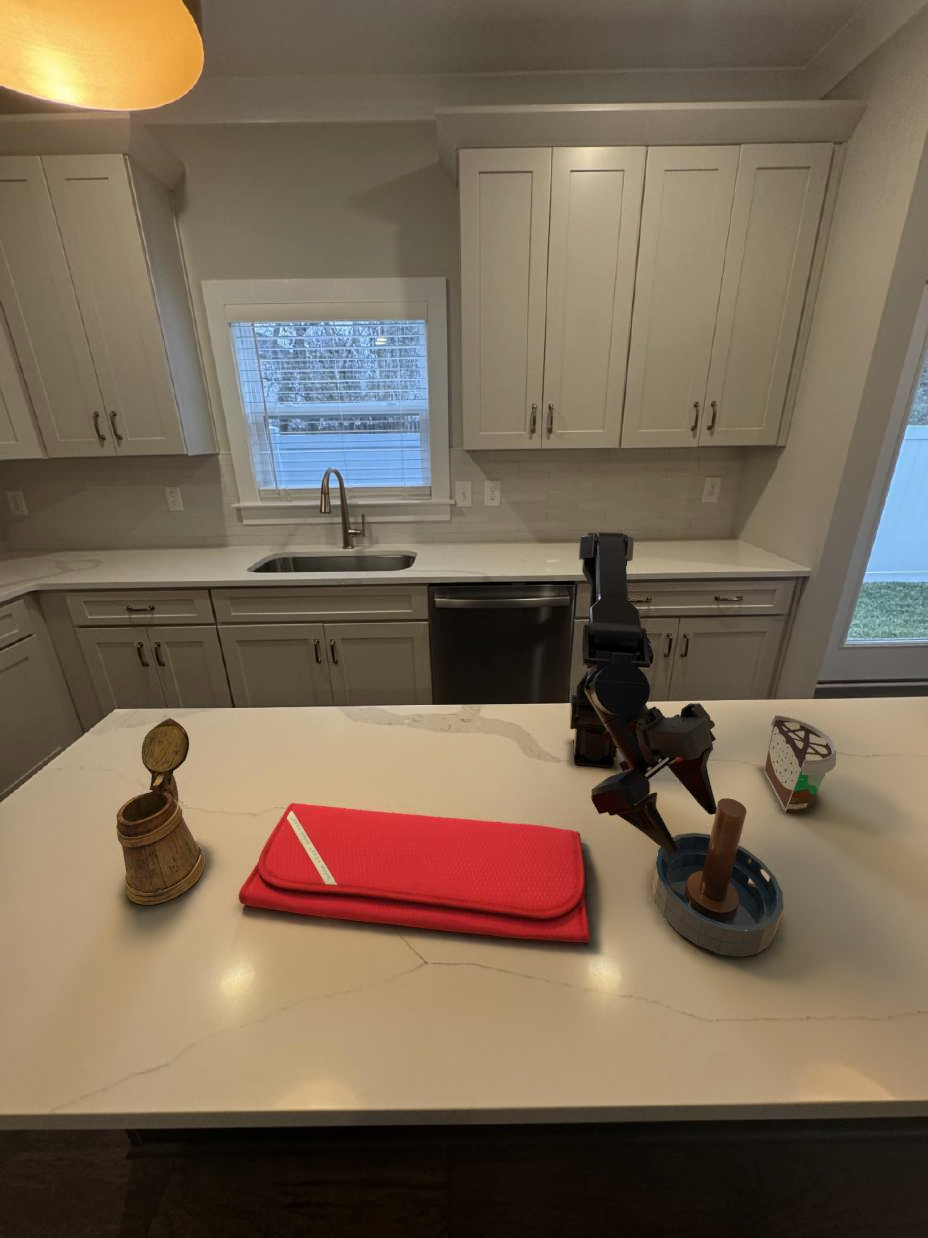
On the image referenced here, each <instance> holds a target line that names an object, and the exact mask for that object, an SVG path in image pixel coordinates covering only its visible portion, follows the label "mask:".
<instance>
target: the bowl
mask: <svg viewBox="0 0 928 1238" xmlns="http://www.w3.org/2000/svg"><path fill="white" fill-rule="evenodd" d="M710 837H711V833H710V834H709V833H701V832H688V833H681V834H676V835H675V836H672V838H673V840H674V842H675V845H676V847H677V849H678V851H677V852H676V853H672V854H670V853H668V852H667V851H666V850H664V849H663V848H662V847H661V846H659V848H658V850H657V853H656V859H655V861H654V862H655V864H654V870H653V875H652V880H651V889H652V895H653V899H654V900H653V901H654V902H655V904H656V906H657V908H658V910H659V911H660V914H661V915H662V917H663V918H664V919H665V921H667V922H668V923H669V924H670V925H671V927H673V929H675V931H676V932H677V933H679V934H680V935H681V936H683V937H684V938H686V939H687V940H689V941H690V942H692V943H693V944H694V945H696V946H697V947H700V948H703V949H705V950H707V951H711V952H713V953H715V954H718V955H723V956H731V957H737V958H738V957H739V958H740V957H741V958H742V957H746V956H754V955H757V954H759V953H760V952H762V951H763V950H765V949H767V948H768V947H769V946H770V945H771V944H772V942H773V939H774V937H775V935H776V933H777V930H778V928H779V924H780V920H781V918H782V915H783V911H784V894H783V890H782V888H781V886H780V884H779V882H778V880H777V878H776V876H775V875H774V874H773V872H772V871H771V870H770V869H769V868H768V867H767V865H766V864H765V863H764V861H762V860H760V858H758V857H757V856H755V855H754V853H752V852H750V851H749V850H748V849H746V848H745V847H742V846H741V845H740V844H739V845H738V849H737V853H736V857H735V861H734V865H733V869H732V873H731V878H730V883H731V884H732V885H733V886H734V888H735V889H736V891H737V893H738V896H739V905H738V909H737V913H736V915H735V916H734V917H733V918H732V919H730V920H727V921H715V920H712V919H710V918H707V917H705V916H703V915H701V914H700V913H698V912H697V911H695V910H694V909H693V908H692V906H691V905H690V904H689V902H688V900H687V898H686V894H685V890H686V884H687V880H688V878H689V876H690V875H691V874H693V873H695V872H698V871H703V869H704V864H705V860H706V855H707V850H708V846H709V841H710Z"/></svg>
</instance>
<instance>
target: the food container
mask: <svg viewBox="0 0 928 1238" xmlns="http://www.w3.org/2000/svg"><path fill="white" fill-rule="evenodd" d="M770 725H771V726H772V727H771V733H770V738H769V743H768V747H767V753H766V758H765V763H764V767H763V772H764V774H765V776H766V778H767V780H768V782H769V783H770V786H771V787H772V789H773V792H774V793H775V795H776V797H777V799H778V801H779V803H780V805H781V807H782V809H783V810H784V812H785V813H787V814H788V813H789V814H795V813H796V814H797V813H802V812H805V811H807V810H808V809H810V808H811V807H812V804H813V802H814V799H815V798H816V795H817V793H818V791H819V788H820V786H821V784H822V783H823V780H824V778H825V775H826V774H827V773H830V772H831V771H833V770H834V768H835V767H836V765H837V751H836V747H835V744H834V742H833V741H832V739H831V738H830V737H829V736H828V735H827V734H826V733H825V732H823V731H822V730H821V729H819V728H817V727H815V726H814V725H811V724H809V723H807V722H805V721H802V720H799V719H797V718H793V717H788V716H783V715H778V714H777V715H776V714H775V715H774V717H772V721H771V724H770Z"/></svg>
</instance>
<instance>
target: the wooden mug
mask: <svg viewBox="0 0 928 1238" xmlns="http://www.w3.org/2000/svg"><path fill="white" fill-rule="evenodd" d="M189 750H190V737H189V734H188V732H187V730H186V729H185V727H184V726H182V725H181V724H180V723H179V722H177V721H176V720H175V719H173V718H171V717H168V718H166V719H165V720H163V721H161V722H160V723H158V724H157V725H155V726H154V727H153V728H151V729H150V730H149V731H148V732H147V734H146V735H145V736H144V739H143V742H142V745H141V760H142V764H143V766H144V767H145V769H146V770H147V771H148V772H149V773H150V774H151V776H150V777H151V778H150V785H149V791H148V792H145V793H142V794H139V795H136V796H133V797H131V798H130V799H129V800H127V801H126V802H125V803H124V804H123V805H122V806H121V807H120V808H119V809H118V811H117V813H116V815H115V816H116V824H115V830H116V837H117V841H118V842H119V844H120V845H121V849H122V855H123V861H124V862H123V863H124V867H125V876H124V882H125V893H126V895H127V897H128V899H129V900H130V901H131V902H133V903H134V904H135V903H136V904H138V905H143V906H147V905H158V904H162V903H166V902H168V901H170V900H172V899H174V898H177V897H178V896H181V895H182V894H184V893H185V892H187V891H188V890H189V889H190V888H192V887H193V886H194V885H195V884H196V883H197V881H198V880H199V879H200V877H201V875H202V874H203V871H204V869H205V866H206V856H205V853H204V851H203V849H202V847H201V845H200V844H199V843H198V841H196V840H195V838H194V836H193V834H192V831H190V829H189V826H188V825H187V823H186V821H185V819H184V816H183V809H182V807H181V805H180V803H179V791H178V785H177V781H176V778H175V776H174V771H176V770H178V769H179V768H180V767H181V766H182V765H183V763H185V761H186V759H187V757H188V754H189Z"/></svg>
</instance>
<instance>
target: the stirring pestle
mask: <svg viewBox="0 0 928 1238" xmlns="http://www.w3.org/2000/svg"><path fill="white" fill-rule="evenodd" d="M716 807H717V809H716V814H714V818H713V824H712V827H711V832H710V835H711V837H710V841H709V846H708V850H707V855H706V860H705V864H704V869H703V871H698V872H695V873H693V874H691V875H690V876H689V878H688V880H687V884H686V890H685V894H686V898H687V900H688V902H689V904H690V905H691V906H692V908H693V909H694V910H695V911H697V912H698V913H700V914H701V915H703V916H705V917H707V918H710V919H712V920H715V921H727V920H730V919H732V918H733V917H734V916H735V915H736V913H737V909H738V905H739V896H738V893H737V891H736V889H735V888H734V886H733V885H732V884H731V883H730V878H731V873H732V869H733V865H734V861H735V857H736V853H737V849H738V845H739V846H740V841H741V836H742V833H743V829H744V824H745V820H746V818H747V817H746V816H747V808H746V807H745V806H744V804H743V803H741V802H740V801H738V800H736V799H734V798H729V797H728V798H727V797H725V798H721V799H719V800H718V802H717V804H716Z"/></svg>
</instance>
